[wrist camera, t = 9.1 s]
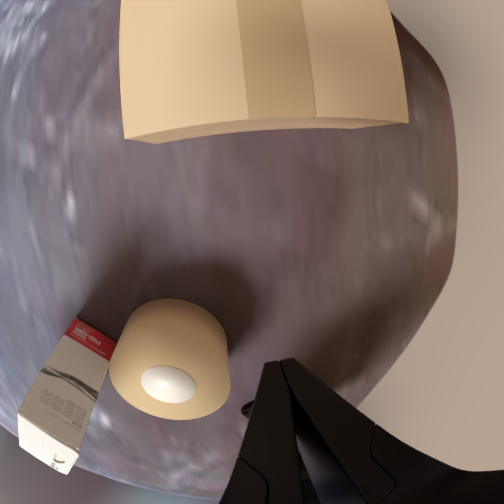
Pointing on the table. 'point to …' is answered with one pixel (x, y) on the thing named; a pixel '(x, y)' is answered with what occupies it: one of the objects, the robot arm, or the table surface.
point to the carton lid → (257, 62)
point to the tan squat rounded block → (172, 360)
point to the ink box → (65, 396)
